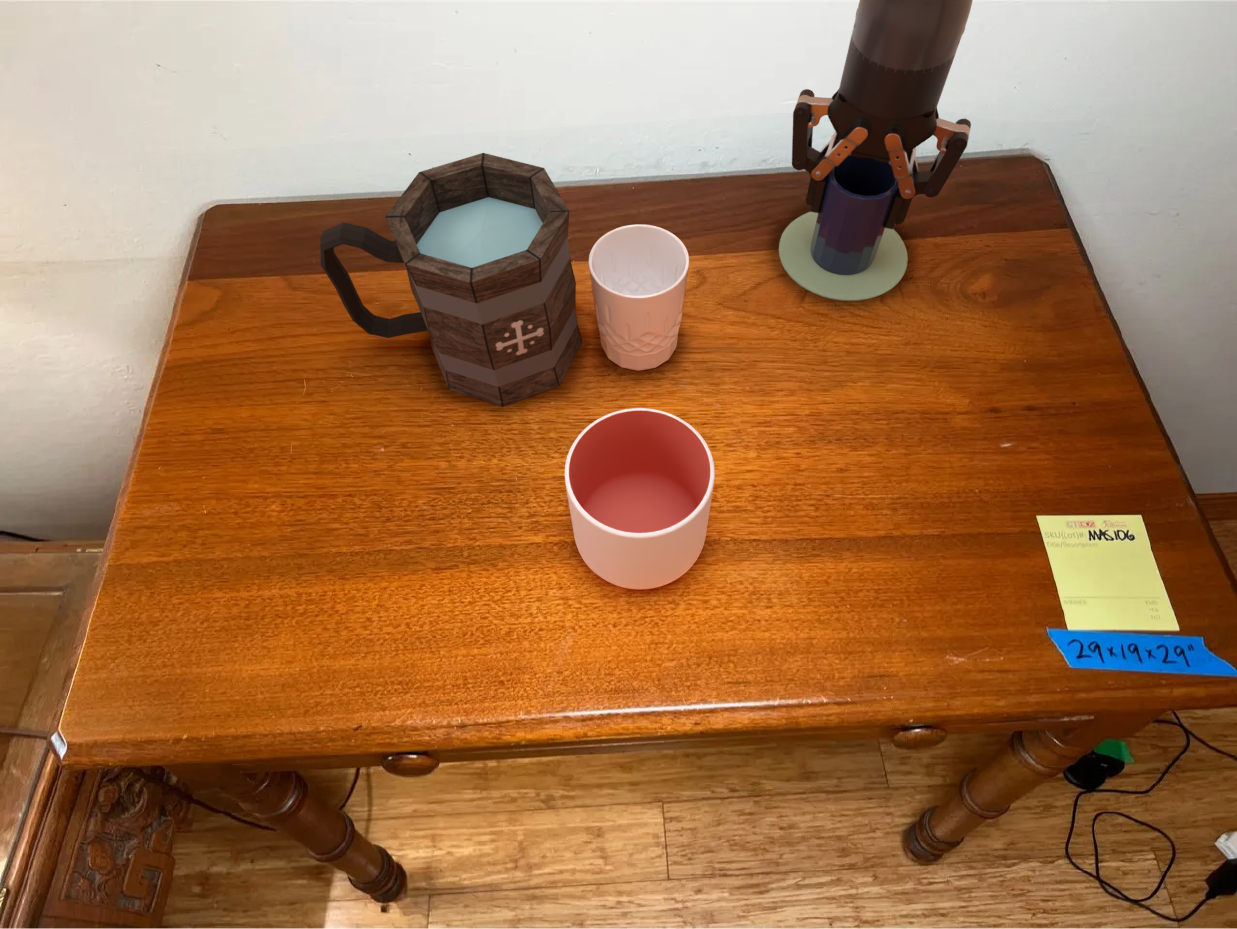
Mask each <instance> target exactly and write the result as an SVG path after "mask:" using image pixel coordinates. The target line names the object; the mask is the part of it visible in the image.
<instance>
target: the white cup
mask: <svg viewBox="0 0 1237 929" xmlns="http://www.w3.org/2000/svg"><path fill="white" fill-rule="evenodd" d="M689 255H690V254H689V252H688V249H687V247H686V245H685V244H684V243H683V241H682V240H681V239H680V238H679V237H677V235H675V234H673V233H672V232H671V231H669V230H667V229H664V228H663V227H659V226H655V225H651V224H645V223H643V224H642V223H641V224H639V223H637V224H628V225H622V226H619V227H617V228H614V229H612V230H610V231H608V232H606V233H604V234H603V235H602V236H600V237H599V238H598V239H597V241H595V243H594V244H593V246H592V248H591V250H590V252H589V255H588V270H589V277H590V283H591V284H590V285H591V292H592V299H593V305H594V311H595V318H596V323H597V327H598V330H599V337H600V345H601V348H602V350H603V352H604V353H605V356H606V357H607V359H608V360H610V361H611V362H613V363H614V364H615V365H617V366H619V367H620V368H623V369H628V370H633V371H645V370H651V369H656V368H658V367H659V366H661V365H662V364H664V363H666V362H667V361H669V360H670V359H671V357H672V355H673V354H674V352H675V350H676V349H677V346H678V337H679V330H680V327H681V323H682V317H683V311H684V306H685V299H686V298H685V297H686V291H687V290H686V289H687V281H688V274H689V267H690V256H689Z"/></svg>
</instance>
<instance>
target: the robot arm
mask: <svg viewBox="0 0 1237 929" xmlns="http://www.w3.org/2000/svg"><path fill="white" fill-rule="evenodd" d="M973 1H974V0H859V2H858V7H857V8H856V13H855V16H854V17H855V19H854V23H853V28H852V31H851V36H850V40H849V43H848V44H849V45H848V49H847V53H846V57H845V62H844V65H843V70H842V74H841V78H840V82H839V88H838V89H837V90H836V92H835V93H834V94H833V95H832V96H831V97H821V96H820V97H819V96H815V93H814V91H813V90H811V89H808V88H805V89H802V90H801V91H800V93H799V95H798V99H797V101H796V104H795V106H794V109H793V112H792V142H791V143H792V144H791V166H792V168H793V169H794V170H796V171H803V170H805V171H806V172H807V173H808V175H809V176H810V177H809V178H810V179H809V183H808V188H807V193H806V197H805V202H806V203H805V204H806V205H807V206H811V209H810V212H814V213H819V210H820V206H821V202H822V197H823V193H824V189H825V185H826V181H827V175H828V174H829V173H830V172H831V171H832V169H833V168H834V167H835V166H836V167H838V166H839V165H840V164H841V163H842V162H843V161H844V159H845V158H846V157H847V156H848V155H849V154H850V153H851V156H853V157H858V158H872V159H874V160H876V161H879V162H883V163H889V161H890V162H891V166H892V170H893V174H894V178H895V179H897V183H898V187H899V188H898V191H897V194H896V196H895V199H894V202H893V205H892V208H891V211H890V214H889V217H888V220H887V223H886V226H885V228H888V229H894V227H895V225H899V226H901V225H902V224H903V223H904V222H905V220H906V217H907V214H908V212H909V209H910V206H911V203H912V200H913V199H914V197H916V196H918V195H924V196H925V197H927V198H936V197H937V196H938V195H939V194H940V192H941V190H942V189H943V187H944V185H945V184H946V182H947V180H948V179H949V178H950V175H951V174H952V173H953V171H954V169H955V167H956V165H957V164H958V163H959V160H960V159H961V157H962V155H963V154H964V152H965V150H966V149H967V146H968V143H969V138H970V133H971V129H972V128H971V127H972V123H971V121H970V120H969V119H968V118H959V119H957V120H956V122H953V121H949V120H946V119H943V118H940V115H939V111H938V105H939V102H940V100H941V97H942V93H943V92H944V87H945V85H946V83H947V79H948V76H949V74H950V70H951V69H952V65H953V62H954V60H955V56H956V54H957V51H958V48H959V46H960V42H961V40H962V38H963V35H964V32H965V30H966V25H967V23H968V19H969V16H970V13H971V10H972V5H973ZM824 116H827V117H828V118H827V119H829V121H830V123H831V125H832V127H833V130H834V131H835V132H833V134H832V136H831V138H830V139H829V140H828V142H827V143H826V144H825V145H824V146H823V147H822V148H821V150H817V149H815V148H814V147H813V133H814V127H816V126H818V125H819V124H820V121H821V119H822V117H824ZM932 136H934V137H935V138H936V140H937V141H936V147H935V148H936V149H937V150H938V153H937V155H936V156H935V159H934V160H933V162H932V164H931V166H930V167H929V169H928V170H922V171H920V169H919V165H918V160H917V147H919V146H920V145H921V144H923V143H925V141H927V140H928V139H930V138H931V137H932Z"/></svg>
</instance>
